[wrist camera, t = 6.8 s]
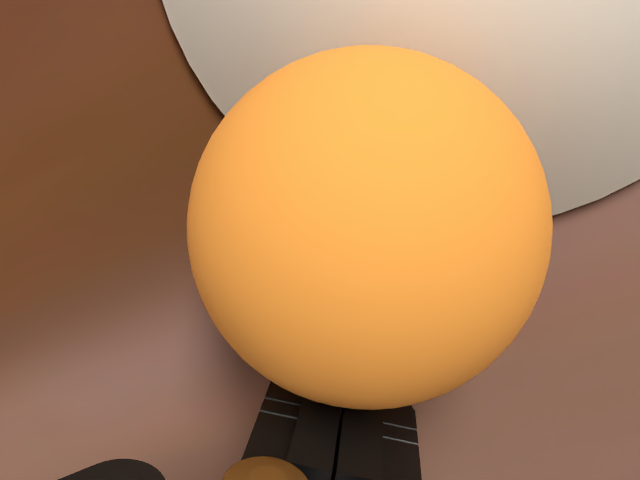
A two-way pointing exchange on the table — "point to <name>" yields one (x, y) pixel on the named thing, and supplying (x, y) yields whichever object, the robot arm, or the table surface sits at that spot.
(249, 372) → the table surface
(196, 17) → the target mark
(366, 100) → the ball
